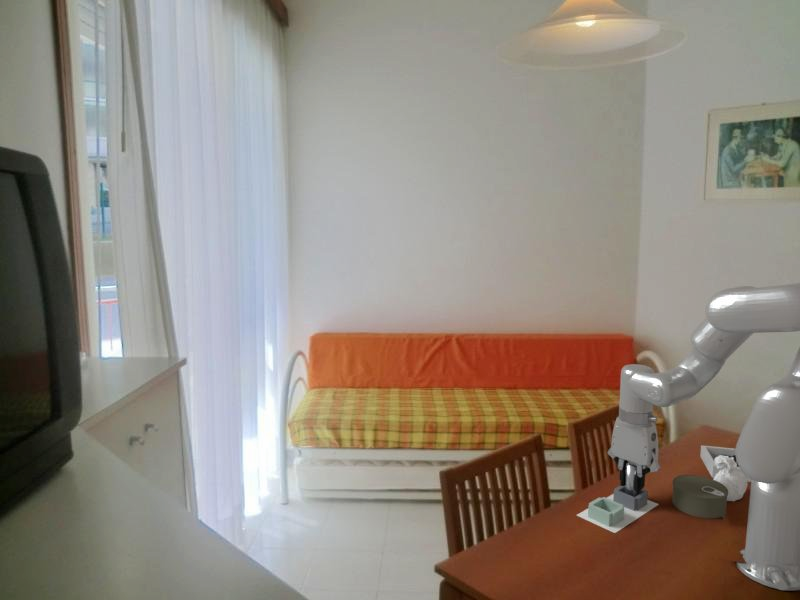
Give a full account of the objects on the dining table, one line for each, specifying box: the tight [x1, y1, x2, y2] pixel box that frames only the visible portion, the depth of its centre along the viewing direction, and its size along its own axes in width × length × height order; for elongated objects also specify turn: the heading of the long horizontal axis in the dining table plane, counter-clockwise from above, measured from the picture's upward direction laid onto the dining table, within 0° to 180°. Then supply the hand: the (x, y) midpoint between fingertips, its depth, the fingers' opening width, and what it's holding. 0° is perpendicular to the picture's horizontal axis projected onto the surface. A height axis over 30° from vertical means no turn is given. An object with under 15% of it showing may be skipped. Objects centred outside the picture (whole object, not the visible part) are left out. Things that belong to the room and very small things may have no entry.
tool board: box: [576, 484, 659, 534], centre depth 137 cm, size 20×10×4 cm, turn 129°
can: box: [671, 474, 728, 521], centre depth 138 cm, size 12×12×7 cm
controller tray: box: [699, 445, 752, 483], centre depth 161 cm, size 14×14×4 cm
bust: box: [712, 455, 748, 502], centre depth 147 cm, size 12×8×11 cm
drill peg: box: [625, 461, 638, 497], centre depth 140 cm, size 3×3×10 cm
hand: (631, 486), depth 140 cm, fingers closed on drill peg, 3 cm apart
